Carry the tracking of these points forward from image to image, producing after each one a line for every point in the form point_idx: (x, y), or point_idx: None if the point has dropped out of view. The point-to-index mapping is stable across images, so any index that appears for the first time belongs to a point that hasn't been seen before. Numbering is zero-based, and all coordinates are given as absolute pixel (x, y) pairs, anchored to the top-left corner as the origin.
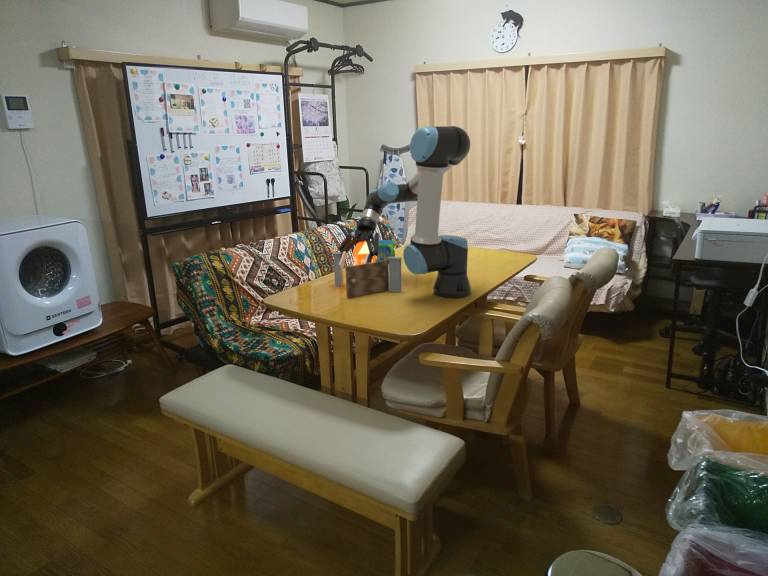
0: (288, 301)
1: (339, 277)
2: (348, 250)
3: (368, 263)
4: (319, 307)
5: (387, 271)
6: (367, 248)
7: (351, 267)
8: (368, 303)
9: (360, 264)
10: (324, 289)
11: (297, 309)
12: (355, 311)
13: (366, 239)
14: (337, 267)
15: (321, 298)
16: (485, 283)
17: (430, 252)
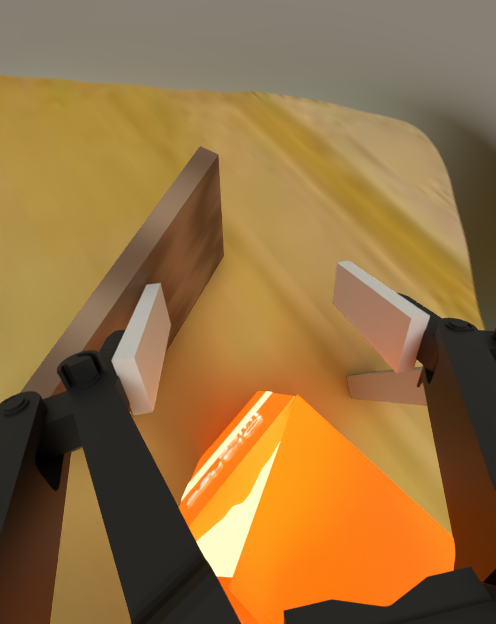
0: (369, 148)
1: (372, 373)
2: (429, 395)
3: (106, 292)
4: (242, 143)
5: None
6: (229, 542)
7: (182, 175)
8: (109, 237)
9: (152, 241)
10: None
11: (288, 108)
12: (112, 156)
13: (191, 594)
14: (417, 368)
15: (300, 212)
16: None
17: None
